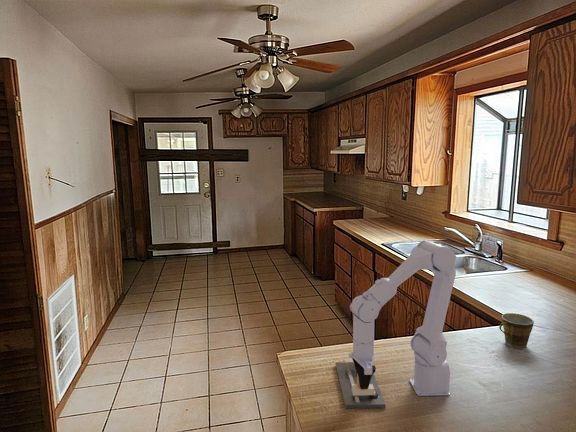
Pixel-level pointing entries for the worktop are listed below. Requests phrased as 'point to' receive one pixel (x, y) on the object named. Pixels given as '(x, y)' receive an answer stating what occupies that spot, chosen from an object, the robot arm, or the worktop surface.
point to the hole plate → (349, 377)
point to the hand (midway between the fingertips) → (362, 384)
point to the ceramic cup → (516, 329)
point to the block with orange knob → (358, 391)
